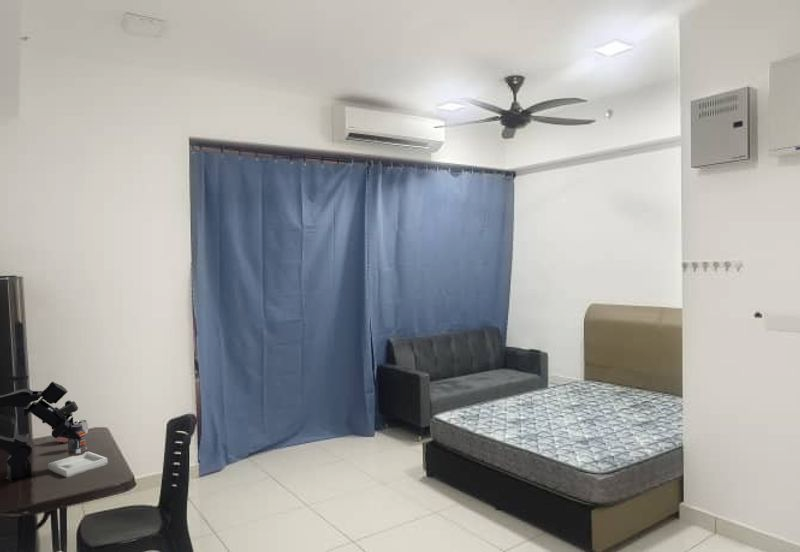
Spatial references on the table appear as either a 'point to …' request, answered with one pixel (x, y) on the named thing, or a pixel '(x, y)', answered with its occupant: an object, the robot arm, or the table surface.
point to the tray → (77, 464)
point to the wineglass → (83, 425)
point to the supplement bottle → (77, 442)
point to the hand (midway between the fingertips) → (80, 436)
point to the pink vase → (62, 439)
